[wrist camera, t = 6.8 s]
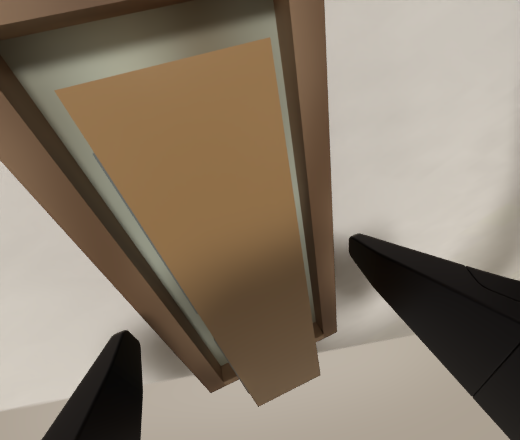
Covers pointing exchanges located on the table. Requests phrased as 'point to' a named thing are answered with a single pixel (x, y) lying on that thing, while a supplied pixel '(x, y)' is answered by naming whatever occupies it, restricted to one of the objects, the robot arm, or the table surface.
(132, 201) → the tan rectangular block
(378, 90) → the table surface
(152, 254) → the brown picture frame
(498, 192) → the table surface
